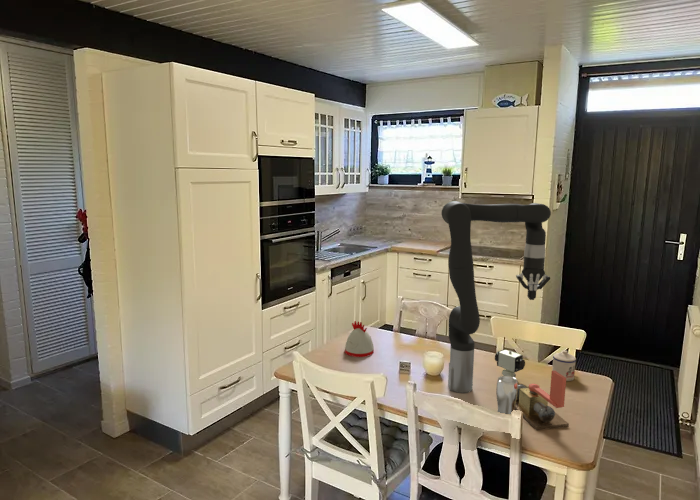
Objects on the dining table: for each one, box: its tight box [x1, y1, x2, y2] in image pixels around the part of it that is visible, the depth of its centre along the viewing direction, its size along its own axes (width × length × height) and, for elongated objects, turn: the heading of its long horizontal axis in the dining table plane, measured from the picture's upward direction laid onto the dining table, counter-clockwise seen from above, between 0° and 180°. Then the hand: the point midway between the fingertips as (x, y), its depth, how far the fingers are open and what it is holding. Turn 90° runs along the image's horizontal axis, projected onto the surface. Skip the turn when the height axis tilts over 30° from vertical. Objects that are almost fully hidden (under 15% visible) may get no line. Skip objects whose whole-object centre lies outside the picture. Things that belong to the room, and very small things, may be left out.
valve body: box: [514, 383, 570, 431], centre depth 174 cm, size 22×12×9 cm, turn 10°
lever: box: [528, 370, 567, 409], centre depth 165 cm, size 18×4×11 cm, turn 12°
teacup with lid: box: [551, 350, 577, 382], centre depth 205 cm, size 12×9×12 cm
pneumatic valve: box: [494, 349, 526, 379], centre depth 203 cm, size 6×12×12 cm, turn 40°
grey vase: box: [495, 375, 519, 414], centre depth 168 cm, size 7×7×15 cm
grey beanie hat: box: [344, 320, 375, 358], centre depth 231 cm, size 14×14×15 cm
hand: (531, 299), depth 187 cm, fingers closed
